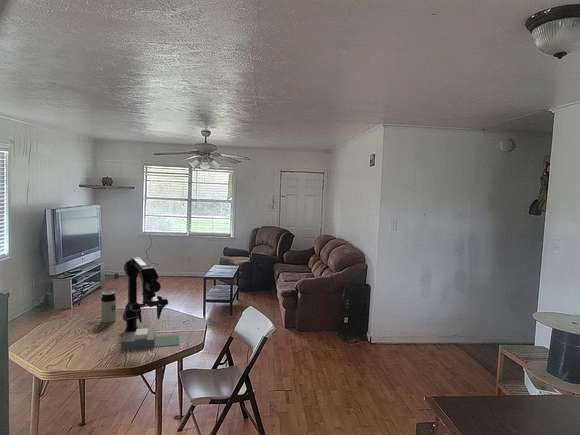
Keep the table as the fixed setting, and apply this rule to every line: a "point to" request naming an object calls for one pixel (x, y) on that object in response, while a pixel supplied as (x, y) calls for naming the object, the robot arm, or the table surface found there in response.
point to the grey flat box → (137, 341)
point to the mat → (167, 341)
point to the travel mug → (108, 307)
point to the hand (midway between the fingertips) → (149, 320)
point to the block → (141, 333)
